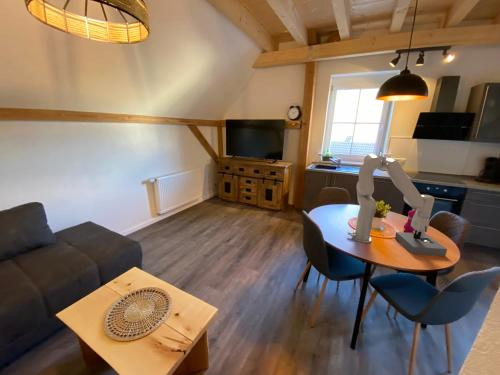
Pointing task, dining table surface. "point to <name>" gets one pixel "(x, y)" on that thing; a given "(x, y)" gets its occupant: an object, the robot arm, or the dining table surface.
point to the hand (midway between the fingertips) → (416, 238)
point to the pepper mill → (409, 222)
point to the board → (420, 244)
